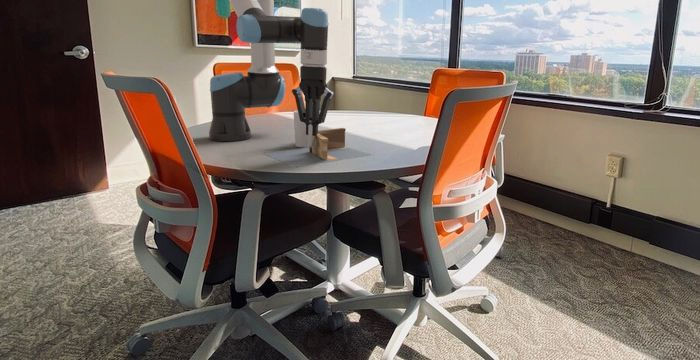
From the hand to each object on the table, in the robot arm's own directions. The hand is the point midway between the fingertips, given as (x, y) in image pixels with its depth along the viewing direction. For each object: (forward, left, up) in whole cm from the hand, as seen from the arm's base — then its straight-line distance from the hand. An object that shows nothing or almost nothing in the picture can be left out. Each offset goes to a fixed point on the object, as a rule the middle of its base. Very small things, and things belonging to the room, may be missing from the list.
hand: (311, 146), depth 139 cm
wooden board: (+1, +2, -3) cm, 4 cm away
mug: (-18, +8, -4) cm, 20 cm away
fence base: (-6, +9, -3) cm, 11 cm away
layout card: (-2, +3, -4) cm, 5 cm away
